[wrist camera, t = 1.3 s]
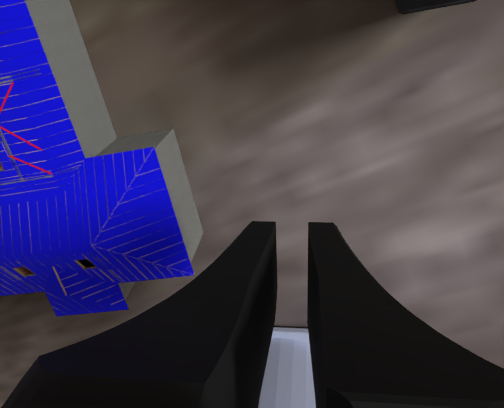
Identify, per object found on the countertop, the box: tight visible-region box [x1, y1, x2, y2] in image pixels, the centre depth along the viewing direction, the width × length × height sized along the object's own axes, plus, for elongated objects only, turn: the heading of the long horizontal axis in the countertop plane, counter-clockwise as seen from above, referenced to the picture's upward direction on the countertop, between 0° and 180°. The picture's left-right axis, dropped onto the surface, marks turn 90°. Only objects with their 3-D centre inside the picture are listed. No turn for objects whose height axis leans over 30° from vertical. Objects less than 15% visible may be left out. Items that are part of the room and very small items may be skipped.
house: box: [0, 0, 203, 316], centre depth 19 cm, size 11×15×5 cm
